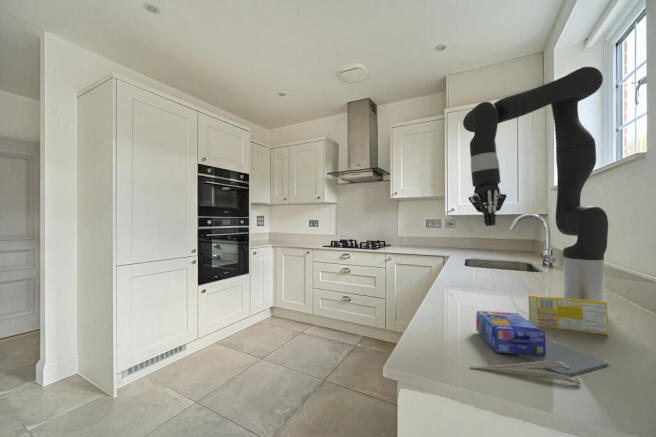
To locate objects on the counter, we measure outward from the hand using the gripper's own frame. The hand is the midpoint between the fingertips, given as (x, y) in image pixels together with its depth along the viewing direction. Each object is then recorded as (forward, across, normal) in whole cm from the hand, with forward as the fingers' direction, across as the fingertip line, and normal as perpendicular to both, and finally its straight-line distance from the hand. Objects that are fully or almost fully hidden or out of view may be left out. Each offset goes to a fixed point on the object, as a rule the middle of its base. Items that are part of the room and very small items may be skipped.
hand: (490, 225), depth 83 cm
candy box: (+29, +8, -13) cm, 33 cm away
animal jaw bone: (+27, -24, -25) cm, 44 cm away
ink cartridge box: (+24, -12, -10) cm, 29 cm away
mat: (+28, -11, -21) cm, 36 cm away
